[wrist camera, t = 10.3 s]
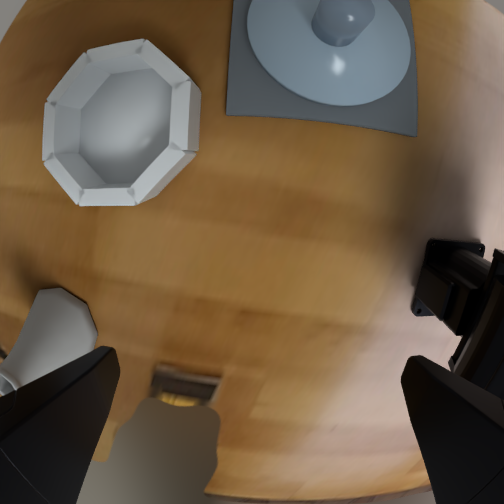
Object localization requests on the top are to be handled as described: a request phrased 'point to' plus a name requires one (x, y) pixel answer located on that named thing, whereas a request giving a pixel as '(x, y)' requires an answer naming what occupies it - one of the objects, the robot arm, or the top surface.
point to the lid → (330, 48)
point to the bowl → (120, 125)
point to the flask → (48, 339)
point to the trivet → (294, 107)
